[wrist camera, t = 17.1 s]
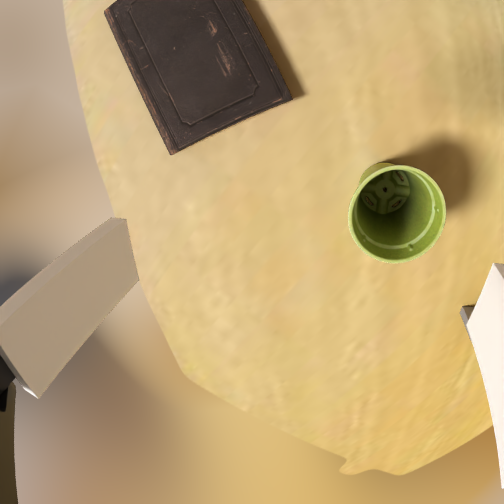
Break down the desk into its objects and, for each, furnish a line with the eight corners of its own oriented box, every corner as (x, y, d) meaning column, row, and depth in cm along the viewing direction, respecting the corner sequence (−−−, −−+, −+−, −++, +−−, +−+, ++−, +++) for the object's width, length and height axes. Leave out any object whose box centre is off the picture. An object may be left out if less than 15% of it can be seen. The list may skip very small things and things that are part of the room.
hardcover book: (212, -51, 22) (205, -58, 21) (295, 99, 31) (292, 99, 29) (111, 15, 29) (101, 13, 27) (176, 152, 37) (168, 156, 35)
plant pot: (326, 184, 34) (326, 214, 27) (386, 129, 29) (405, 143, 22) (378, 239, 36) (389, 280, 28) (436, 191, 31) (463, 222, 24)
